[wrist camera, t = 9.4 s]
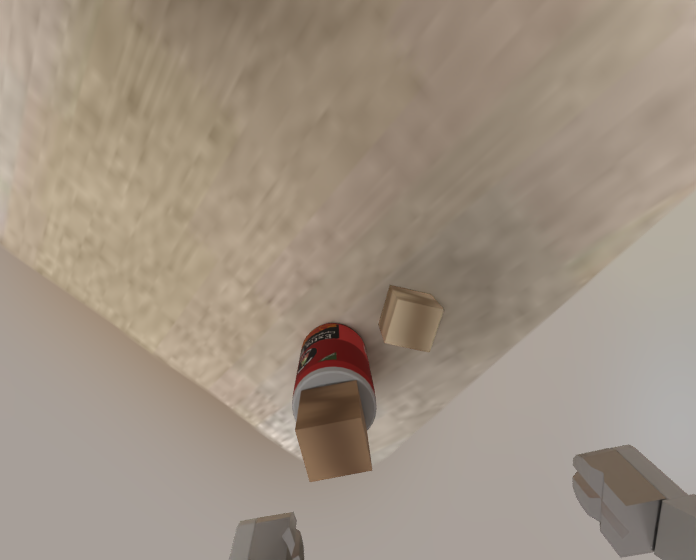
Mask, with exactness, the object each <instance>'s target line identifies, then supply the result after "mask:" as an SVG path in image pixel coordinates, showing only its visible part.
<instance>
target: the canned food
mask: <svg viewBox="0 0 696 560" xmlns="http://www.w3.org/2000/svg"><path fill="white" fill-rule="evenodd" d="M354 380H357V385H358V389H359V394H360V399H361V404H362V408H363V413H364V418H365V423H366V428H367V430H368V429H369V428H370V426H371V425H372V423H373V421H374V418H375V415H376V397H375V391H374V386H373V381H372V376H371V372H370V367H369V362H368V357H367V353H366V348H365V345H364V343H363V341H362V339H361V338H360V336H359V335H358V334H357V333H356V332H355V331H353V330H352V329H351V328H349V327H347V326H345V325H342V324H337V323H328V324H324V325H321V326H319V327H317V328H315V329H314V330H313V331H312V332H310V333H309V335H308V336H307V337H306V339H305V340H304V342H303V345H302V349H301V354H300V360H299V365H298V370H297V376H296V381H295V386H294V393H293V401H292V409H293V415H294V418H295V420H296V421H297V414H298V407H299V400H300V394H301V391H302V390H307V389H312V388H317V387H323V386H328V385H333V384H338V383H343V382H349V381H354Z"/></svg>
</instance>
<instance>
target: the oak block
mask: <svg viewBox="0 0 696 560" xmlns="http://www.w3.org/2000/svg"><path fill="white" fill-rule="evenodd" d="M443 312H444V309H443V308H442V307H441V305H440V304H439V303H438V302H437V301H436V300H435V298H434V297H433V296H432V295H431V294H427V293H423V292H418V291H414V290H409V289H405V288H401V287H396V286H392V285H390V287H389V290H388V293H387V297H386V300H385V304H384V307H383V310H382V314H381V317H380V321H379V327H380V331H381V334H382V337H383V340H384V343H386V344H391V345H396V346H401V347H406V348H410V349H415V350H420V351H425V352H430V349H431V347H432V344H433V341H434V338H435V335H436V332H437V329H438V326H439V323H440V320H441V317H442V315H443Z"/></svg>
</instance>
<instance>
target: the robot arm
mask: <svg viewBox="0 0 696 560" xmlns="http://www.w3.org/2000/svg"><path fill="white" fill-rule="evenodd" d="M573 466H574V467H575V468H576V470H577V472H576V473H575V475H574V476H573V489H574V492H575V494H576V497H577V499H578V501H579V503H580V505H581V506H582V508H583V509H584V510H585V512H586V513H587V514H588V515H589V516H591V517H592V518H594V519H596V520H597V521H599V522H600V531H601V533H602V534H603V535H604V537H605V538H606V539H607V540H608V542H609V543H610V544H611V546H612V547H613V548H614V550H615V551H616V552H617V554H618V555H619V556H620V557H627V556H633V555H639V554H645V553H651V552H654V554H655V555H656V556H658V557H659V558H660V559H662V560H696V495H695V494H692V495H688V494H686V493H685V492H684V491H683V490H682V489H681V488H680V487H679V486H677V485H676V484H675V483H674V482H673V481H672V480H671V479H670V478H668V477H667V476H666V475H665V474H664V473H663V472H662V471H661V470H659V469H658V468H657V467H656V466H655V465H654V464H653V463H652V462H651V461H649V460H648V459H647V458H646V457H645V456H643V454H641V453H640V452H639V451H638V450H637V449H636V448H634V447H633V446H631V445H623V446H619V447H614V448H610V449H609V448H606V449H602V450H597V451H592V452H588V453H584V454H579V455H576V456H575V457H574V458H573ZM296 522H297V520H296V517H295V515H294V512H291V513H284V514H278V515H272V516H266V517H260V518H255V519H250V520H244V521H240V523H239V525H238V526H237V529H236V533H235V537H234V541H233V545H232V549H231V554H230V557H229V560H304V547H303V541H302V536H301V533H300V531H299V530H297V529H296Z"/></svg>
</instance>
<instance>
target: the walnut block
mask: <svg viewBox="0 0 696 560" xmlns="http://www.w3.org/2000/svg"><path fill="white" fill-rule="evenodd" d="M295 432H296V435H297V439H298V442H299V446H300V449H301V453H302V456H303V460H304V463H305V467H306V470H307V474H308V477H309V481H310V482H313V481H319V480H324V479H329V478H335V477H340V476H345V475H351V474H355V473H361V472H366V471H372V464H371V457H370V450H369V442H368V435H367V428H366V423H365V418H364V413H363V408H362V404H361V399H360V394H359V389H358V385H357V380H354V381H349V382H343V383H338V384H333V385H328V386H323V387H317V388H312V389H307V390H302V391H301V394H300V400H299V407H298V414H297V421H296V428H295Z"/></svg>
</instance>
